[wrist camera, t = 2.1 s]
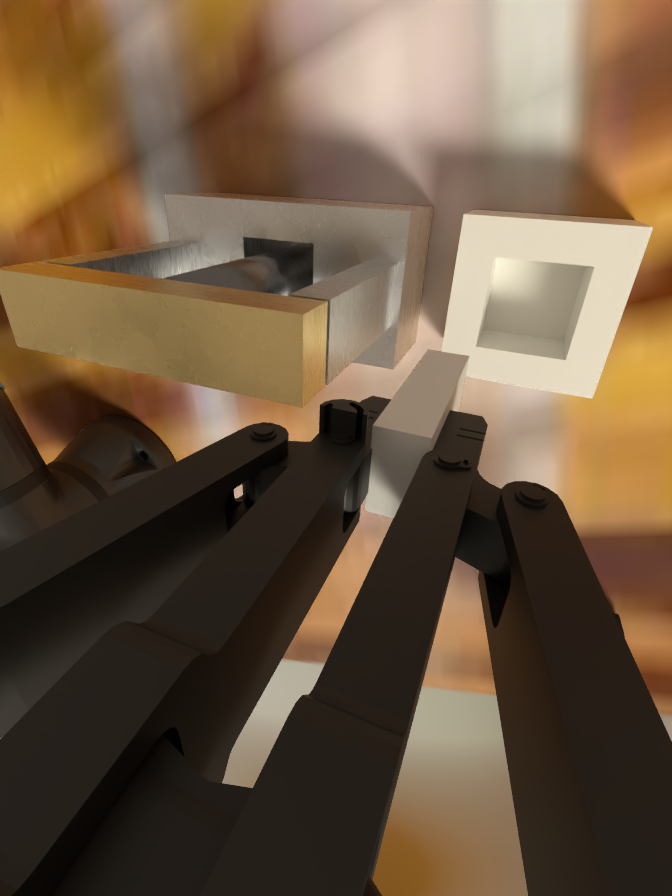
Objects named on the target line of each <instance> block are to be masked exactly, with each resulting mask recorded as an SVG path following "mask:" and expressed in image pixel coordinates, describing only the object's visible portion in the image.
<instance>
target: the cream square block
mask: <svg viewBox="0 0 672 896" xmlns="http://www.w3.org/2000/svg"><path fill="white" fill-rule="evenodd" d="M652 230H653V227H651V226H649V225H646V224H644V223H641V222H639V221H636V220H626V219H611V218H596V217H581V216H566V215H551V214H536V213H521V212H506V211H491V210H473V211H470V212H468V213H465V214H464V215H463V221H462V228H461V234H460V240H459V246H458V252H457V258H456V264H455V270H454V276H453V283H452V289H451V295H450V301H449V307H448V313H447V319H446V325H445V332H444V338H443V344H442V350H441V351H442V352H448V353H454V354H460V355H466V356H470V357H469V362H468V367H467V372H466V377H470V378H476V379H482V380H487V381H493V382H499V383H505V384H511V385H516V386H522V387H528V388H534V389H540V390H545V391H551V392H557V393H563V394H569V395H574V396H580V397H586V398H593V396H594V393H595V390H596V387H597V384H598V381H599V379H600V376H601V373H602V370H603V367H604V365H605V362H606V359H607V356H608V353H609V351H610V348H611V345H612V342H613V339H614V337H615V334H616V331H617V328H618V325H619V322H620V320H621V317H622V314H623V311H624V308H625V306H626V303H627V300H628V297H629V294H630V292H631V289H632V286H633V283H634V280H635V277H636V275H637V272H638V269H639V266H640V263H641V261H642V258H643V255H644V252H645V249H646V247H647V244H648V241H649V238H650V235H651V232H652Z"/></svg>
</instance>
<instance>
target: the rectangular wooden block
mask: <svg viewBox="0 0 672 896" xmlns="http://www.w3.org/2000/svg"><path fill="white" fill-rule="evenodd" d="M0 294H1V297H2V300H3V303H4V307H5V310H6V313H7V316H8V319H9V322H10V325H11V328H12V332H13V335H14V338H15V341H16V344H17V347H21V348H26V349H31V350H35V351H40V352H45V353H50V354H54V355H59V356H64V357H68V358H73V359H78V360H82V361H87V362H92V363H96V364H101V365H106V366H110V367H115V368H120V369H124V370H129V371H134V372H138V373H143V374H148V375H152V376H157V377H162V378H166V379H171V380H176V381H180V382H185V383H190V384H194V385H199V386H204V387H208V388H213V389H218V390H223V391H227V392H232V393H237V394H241V395H246V396H251V397H255V398H260V399H265V400H269V401H274V402H279V403H283V404H288V405H293V406H297V407H302V408H303V407H304V406H305V405H306V404H307V403H308V402H309V401H311V400H312V399H313V398H314V397H315V396H316V395H317V394H318V393H319V392H320V391H321V390H322V389H324V388H325V372H326V340H327V309H328V301H321V300H314V299H307V298H299V297H292V296H285V295H277V294H270V293H263V292H255V291H248V290H241V289H233V288H226V287H219V286H212V285H204V284H197V283H190V282H182V281H175V280H168V279H160V278H153V277H146V276H139V275H131V274H124V273H117V272H109V271H102V270H95V269H87V268H80V267H73V266H66V265H58V264H51V263H44V262H31V263H25V264H18V265H12V266H5V267H0Z"/></svg>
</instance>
